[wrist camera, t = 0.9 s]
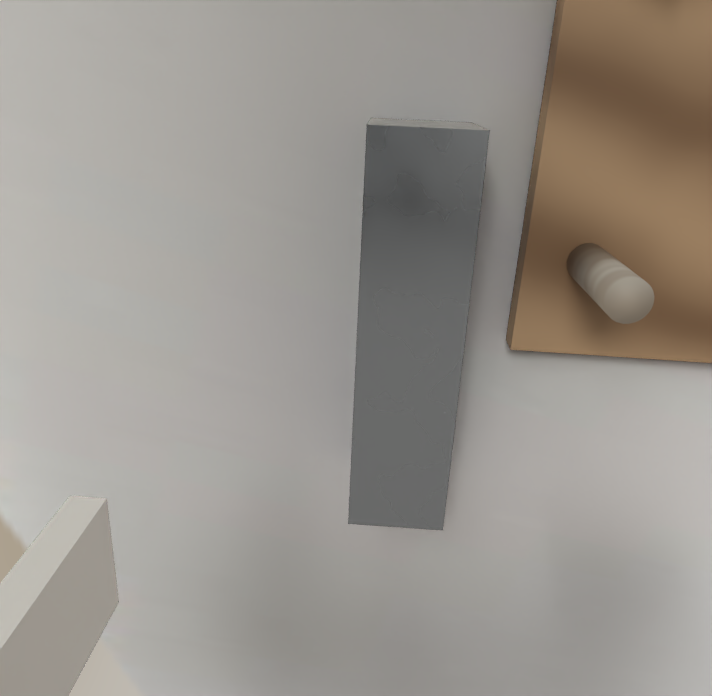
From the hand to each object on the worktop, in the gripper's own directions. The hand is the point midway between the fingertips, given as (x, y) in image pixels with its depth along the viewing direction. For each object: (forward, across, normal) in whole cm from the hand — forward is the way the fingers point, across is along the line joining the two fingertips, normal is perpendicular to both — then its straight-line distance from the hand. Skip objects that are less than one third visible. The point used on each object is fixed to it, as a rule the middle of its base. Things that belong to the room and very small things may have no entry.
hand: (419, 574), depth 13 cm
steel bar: (+16, 0, 0) cm, 17 cm away
